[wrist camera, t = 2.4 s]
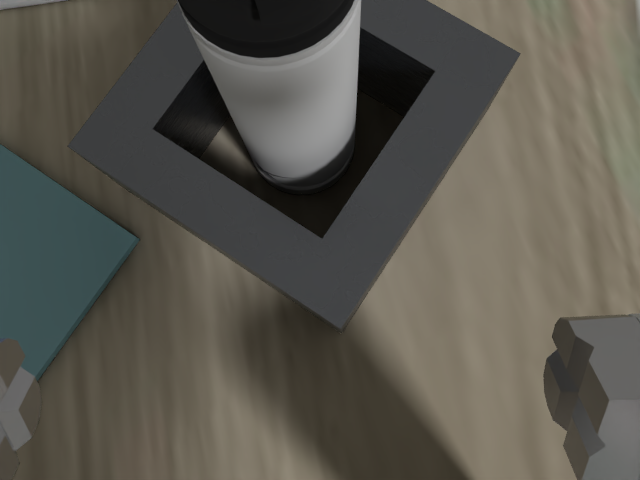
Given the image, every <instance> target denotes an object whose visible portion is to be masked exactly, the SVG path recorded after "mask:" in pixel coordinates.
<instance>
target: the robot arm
mask: <svg viewBox="0 0 640 480" xmlns="http://www.w3.org/2000/svg"><path fill="white" fill-rule="evenodd" d="M552 339H553V341H554V343H555V345H556V348H557V350H556V351H555V352H553V353H552V354H551V355H550V356H549V357H548V358H547V359H546V364H545V369H544V374H543V377H544V393H545V398H546V402H547V406H548V409H549V411H550V414H551V416H552V419H553V421H555V422H556V423H557V424H559V425H560V426H561V427H562V428H564V429H565V430H566V431H567V434H566V437H565V441H564V444H563V447H564V449H565V451H566V454H567V456H568V459H569V461H570V464H571V466H572V468H573V471H574V473H575V476H576V478H577V480H640V314H629V315H605V316H583V317H561V318H559V320H558V321H557V322H556V324H555V327H554V330H553V334H552ZM24 358H25V354H24V352H23V350H22V349H21V347H20V345H19V343H18V341H17V340H13V339H9V338H0V480H12V479H13V477H14V475H15V472H16V470H17V468H18V466H19V464H20V462H19V459H18V456H17V453H16V450H17V449H18V448H20V447H21V446H22V445H23V444H25V443H26V442H27V441H28V440H29V439H31V438H32V436H33V434H34V432H35V429H36V427H37V425H38V423H39V419H40V412H41V406H42V398H41V392H40V387H39V385H38V382H37V380H36V378H35V376H33V375H32V374H30V373H29V372H27V371H26V370H24V369H23V368H22V367H20V366H21V364H22V362H23V360H24Z"/></svg>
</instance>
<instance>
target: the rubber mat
mask: <svg viewBox="0 0 640 480" xmlns="http://www.w3.org/2000/svg"><path fill="white" fill-rule="evenodd" d="M139 240H140V239H139V238H137V237H136V236H134V235H133V234H131V233H130V232H128V231H127V230H125V229H124V228H122V227H121V226H120V225H118V224H117V223H115V222H114V221H112V220H111V219H109V218H108V217H106V216H105V215H103V214H102V213H101V212H99V211H98V210H96V209H95V208H93V207H92V206H90V205H89V204H87V203H86V202H84V201H83V200H81V199H80V198H79V197H77V196H76V195H74V194H73V193H71V192H70V191H68V190H67V189H65V188H64V187H62V186H61V185H60V184H58V183H57V182H55V181H54V180H52V179H51V178H49V177H48V176H46V175H45V174H43V173H42V172H41V171H39V170H38V169H36V168H35V167H33V166H32V165H30V164H29V163H27V162H26V161H24V160H23V159H21V158H20V157H19V156H17V155H16V154H14V153H13V152H11V151H10V150H8V149H7V148H5V147H4V146H2V145H1V144H0V338H9V339H13V340H17V341H18V343H19V345H20V347H21V349H22V350H23V352H24V354H25V358H24V360H23V362H22V364H21V366H20V367H22V368H23V369H24V370H26V371H27V372H29V373H30V374H32V375H33V376H35V378H36V380H37V381H38V380H39V378H40V377H41V376H42V374H43V373H44V371H45V370H46V369H47V367H48V366H49V364H50V363H51V362H52V360H53V359H54V358H55V356H56V355H57V353H58V352H59V351H60V349H61V348H62V347H63V345H64V344H65V342H66V341H67V340H68V338H69V337H70V336H71V334H72V333H73V331H74V330H75V329H76V327H77V326H78V324H79V323H80V322H81V320H82V319H83V318H84V316H85V315H86V313H87V312H88V311H89V309H90V308H91V307H92V305H93V304H94V302H95V301H96V300H97V298H98V297H99V295H100V294H101V293H102V291H103V290H104V289H105V287H106V286H107V284H108V283H109V282H110V280H111V279H112V278H113V276H114V275H115V273H116V272H117V271H118V269H119V268H120V267H121V265H122V264H123V262H124V261H125V260H126V258H127V257H128V255H129V254H130V253H131V251H132V250H133V249H134V247H135V246H136V244H137V243H138V242H139Z"/></svg>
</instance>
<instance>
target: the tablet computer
mask: <svg viewBox="0 0 640 480" xmlns="http://www.w3.org/2000/svg"><path fill="white" fill-rule="evenodd" d="M59 1H66V0H0V10H3V9H10V8H17V7H25V6H32V5H39V4H46V3H52V2H59Z"/></svg>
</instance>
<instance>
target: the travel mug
mask: <svg viewBox="0 0 640 480" xmlns="http://www.w3.org/2000/svg"><path fill="white" fill-rule="evenodd" d="M177 3H178V5H179V8H180V10H181V12H182V14H183V17H184V19H185V21H186V23H187V25H188V27H189V29H190V31H191V33H192V35H193V38H194V40H195V42H196V44H197V46H198V48H199V50H200V52H201V54H202V56H203V58H204V60H205V63H206V65H207V67H208V69H209V71H210V73H211V75H212V77H213V79H214V81H215V83H216V85H217V87H218V90H219V92H220V94H221V96H222V98H223V100H224V102H225V104H226V106H227V108H228V110H229V112H230V115H231V117H232V119H233V121H234V123H235V125H236V127H237V129H238V131H239V133H240V135H241V137H242V140H243V142H244V144H245V146H246V148H247V150H248V152H249V154H250V156H251V158H252V160H253V162H254V164H255V167H256V169H257V170H258V172H259V173H260V175H261V176H262V177H263V178H264V179H265V180H266V181H267V182H268V183H269V184H270V185H272V186H274V187H275V188H277V189H278V190H281V191H284V192H287V193H291V194H297V195H302V194H312V193H316V192H320V191H322V190H324V189H327V188H329V187H330V186H332V185H333V184H334V183H336V182H337V181H338V180H339V179H340V178H341V177H342V176H343V175H344V173H345V172H346V170H347V169H348V167H349V165H350V163H351V160H352V158H353V153H354V146H355V124H356V103H357V81H358V60H359V38H360V16H361V0H177Z"/></svg>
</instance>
